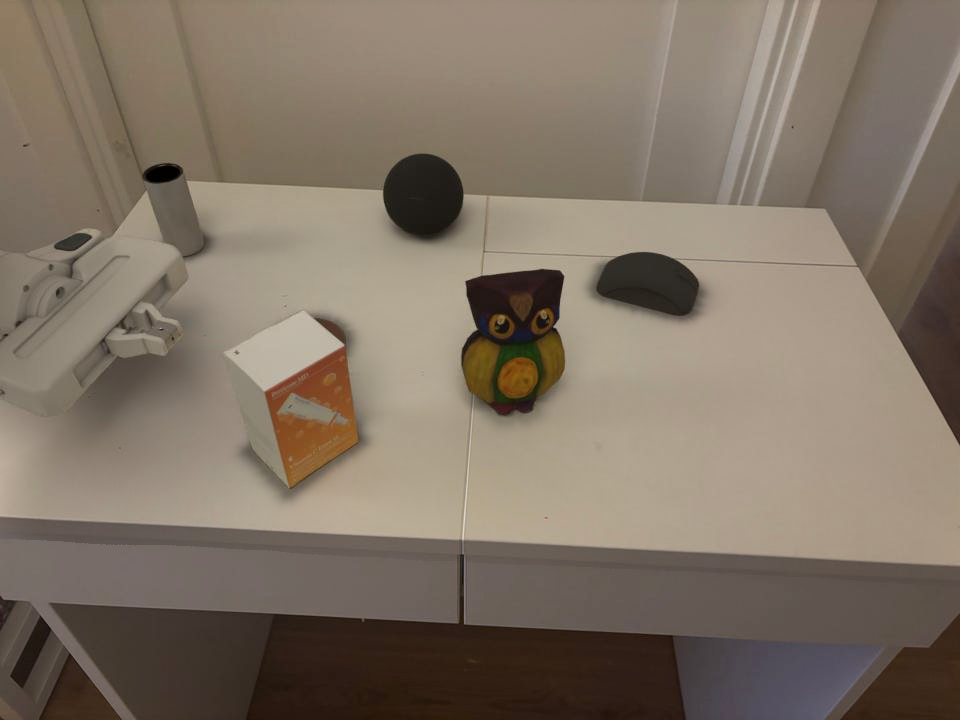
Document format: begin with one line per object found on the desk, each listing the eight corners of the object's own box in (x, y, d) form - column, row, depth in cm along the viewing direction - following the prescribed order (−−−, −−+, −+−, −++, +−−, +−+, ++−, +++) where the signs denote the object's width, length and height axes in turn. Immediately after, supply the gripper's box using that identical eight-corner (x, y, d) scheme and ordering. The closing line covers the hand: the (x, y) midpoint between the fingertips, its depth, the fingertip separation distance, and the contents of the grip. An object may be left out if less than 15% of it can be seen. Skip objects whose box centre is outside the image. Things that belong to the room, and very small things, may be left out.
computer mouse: (689, 319, 85) (697, 291, 82) (593, 294, 87) (598, 267, 85) (699, 286, 89) (707, 259, 86) (607, 263, 92) (612, 237, 89)
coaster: (301, 382, 77) (301, 380, 76) (254, 345, 80) (254, 343, 80) (360, 343, 81) (360, 341, 81) (313, 310, 85) (312, 308, 84)
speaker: (407, 260, 91) (402, 189, 84) (373, 219, 97) (366, 150, 90) (477, 237, 95) (478, 167, 88) (440, 199, 101) (439, 131, 94)
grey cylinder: (176, 233, 95) (152, 160, 87) (210, 237, 94) (189, 164, 87) (160, 255, 91) (134, 181, 84) (195, 258, 91) (172, 184, 84)
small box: (290, 491, 67) (262, 392, 58) (251, 450, 70) (220, 351, 61) (361, 442, 71) (346, 343, 62) (322, 406, 74) (302, 307, 65)
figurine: (468, 429, 73) (469, 313, 62) (456, 378, 77) (455, 262, 67) (565, 415, 74) (582, 300, 63) (547, 366, 79) (560, 251, 68)
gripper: (-68, 358, 59) (82, 398, 56) (98, 217, 73) (224, 244, 70) (-30, 411, 63) (110, 450, 60) (119, 268, 77) (239, 295, 74)
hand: (173, 338), depth 65 cm, fingers closed
